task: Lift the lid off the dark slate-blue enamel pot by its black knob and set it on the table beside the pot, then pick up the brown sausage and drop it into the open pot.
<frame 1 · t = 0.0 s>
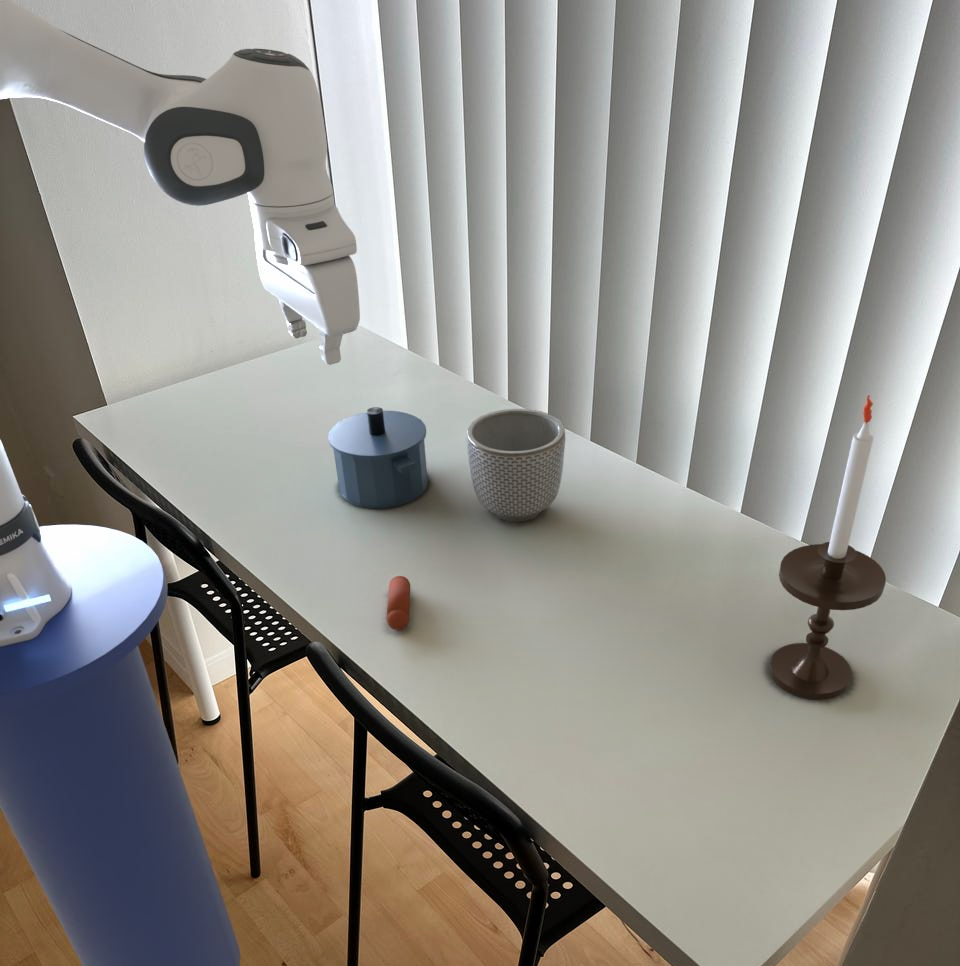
hand: (314, 348, 114), 32 cm above the table, tool pointing down, fingers open, 8 cm apart
pot: (383, 485, 152), on the table
candlestick: (809, 674, 114), on the table
sausage: (399, 610, 127), on the table
planter: (517, 510, 145), on the table
lid: (377, 435, 147), point 8 cm above the table, touching pot
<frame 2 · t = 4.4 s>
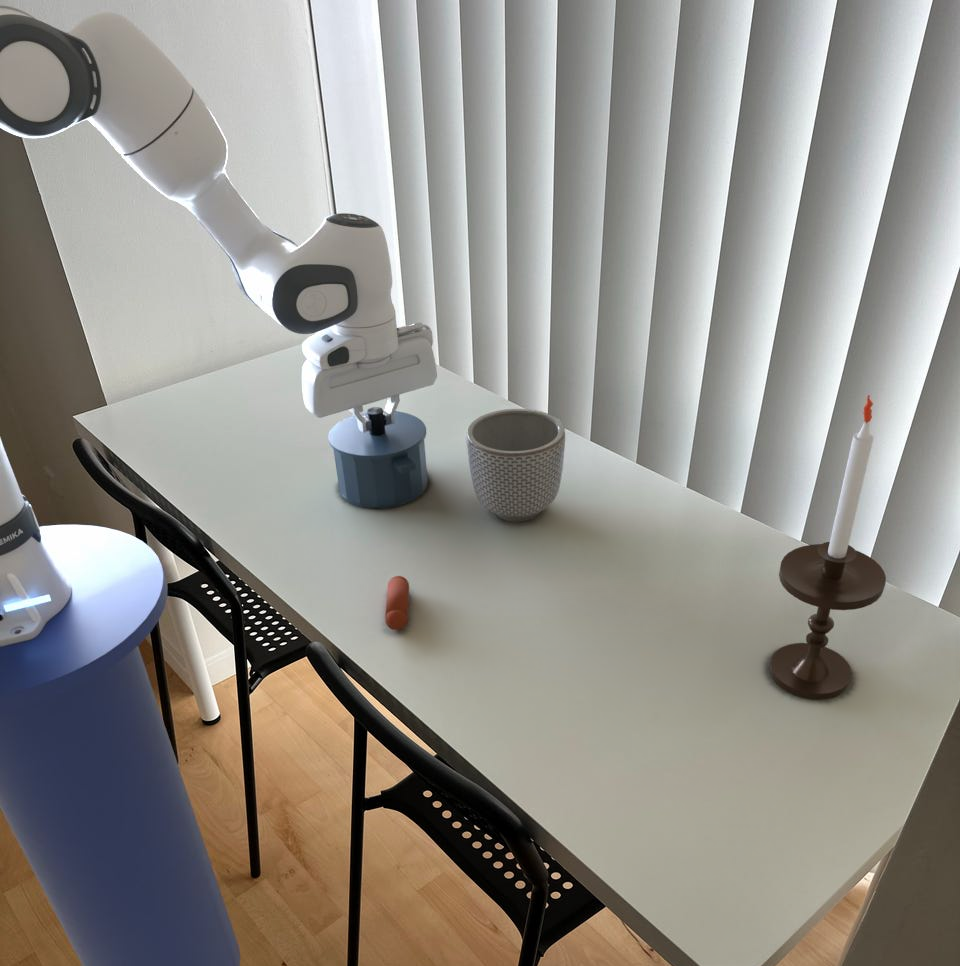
hand: (376, 426, 146), 10 cm above the table, tool pointing down, fingers closed on lid, 2 cm apart
sausage: (399, 610, 127), on the table, tilted 8°
lid: (377, 435, 147), point 9 cm above the table, touching gripper, pot
everything else where it was.
when the fingers open (2 cm above the table, at t = 12.2 s): lid stays where it is, point 1 cm above the table.
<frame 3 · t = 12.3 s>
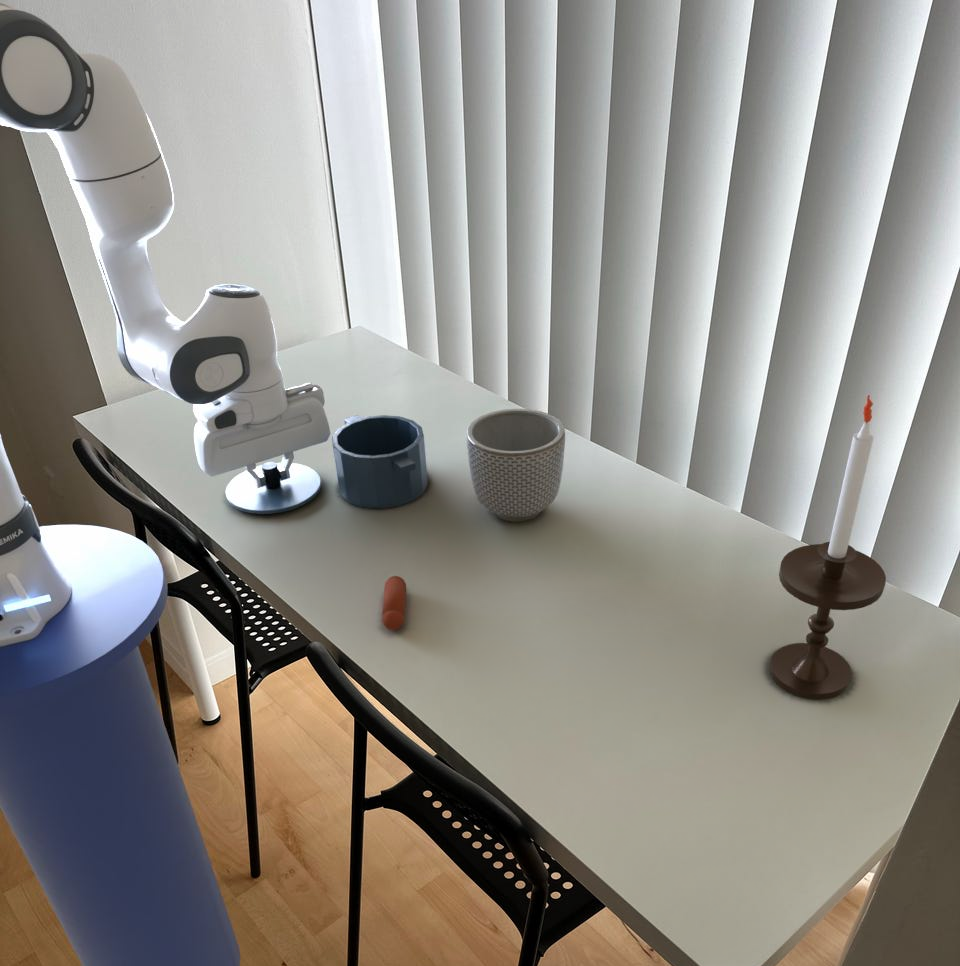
hand: (272, 481, 151), 2 cm above the table, tool pointing down
sausage: (399, 610, 127), on the table, tilted 24°
lid: (273, 489, 151), point 1 cm above the table
everything else where it was.
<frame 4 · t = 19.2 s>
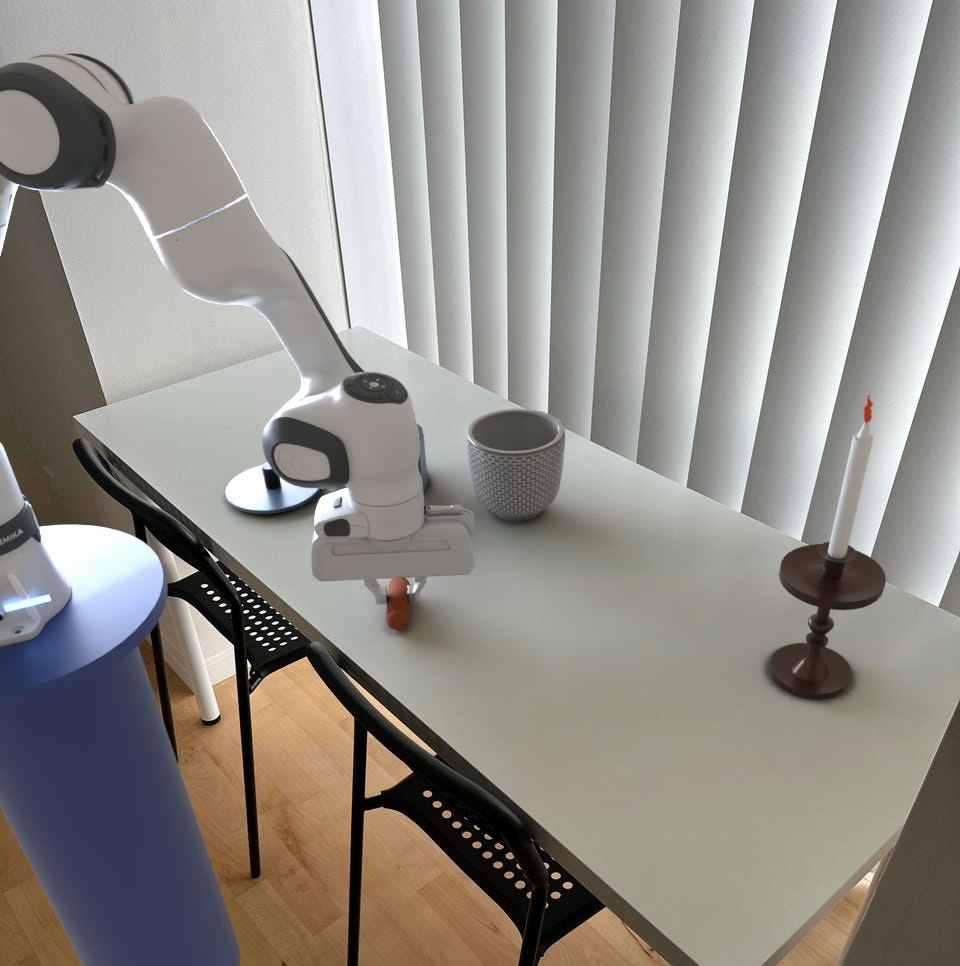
hand: (398, 601, 126), 2 cm above the table, tool pointing down, fingers closed on sausage, 3 cm apart
sausage: (406, 608, 127), on the table, tilted 46°, touching gripper
everything else where it was.
when the fingers open (8 cm above the table, at t = 26.4 s): sausage drops 6 cm, resting on pot.
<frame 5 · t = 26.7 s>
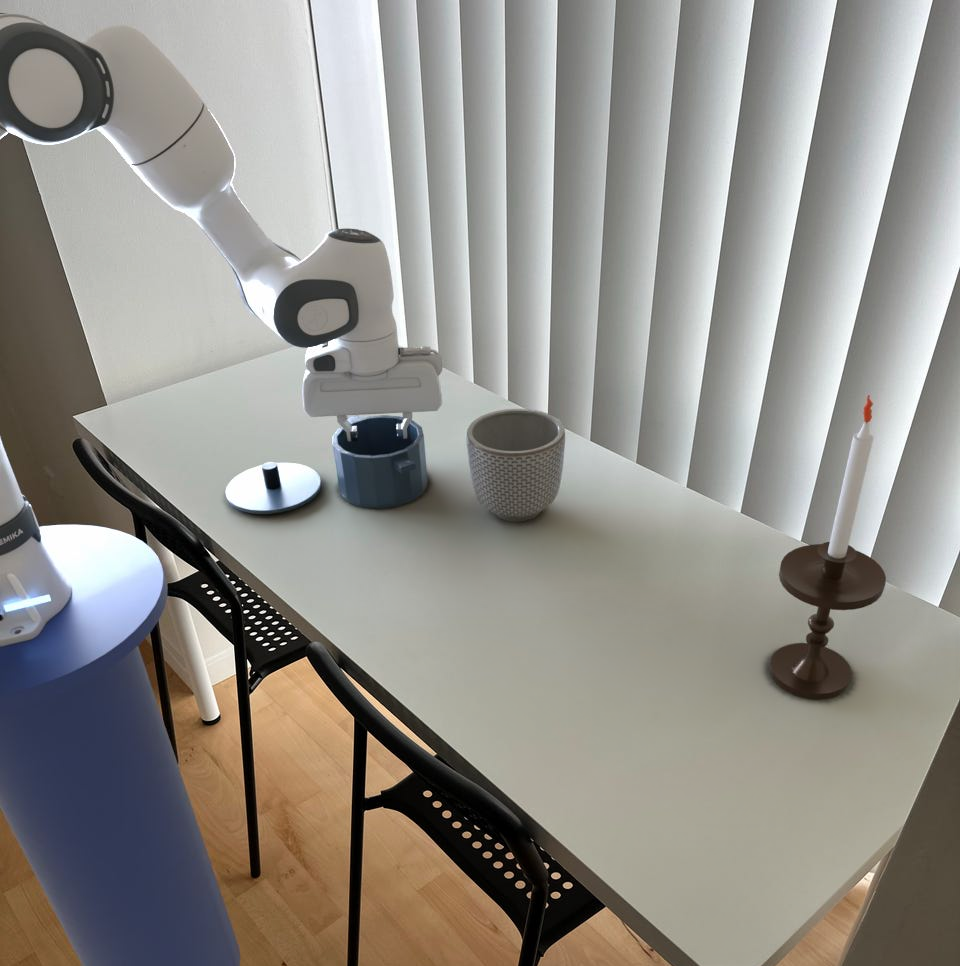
hand: (377, 438, 147), 8 cm above the table, tool pointing down, fingers open, 6 cm apart
sausage: (388, 480, 151), point 1 cm above the table, tilted 47°, touching pot
everything else where it was.
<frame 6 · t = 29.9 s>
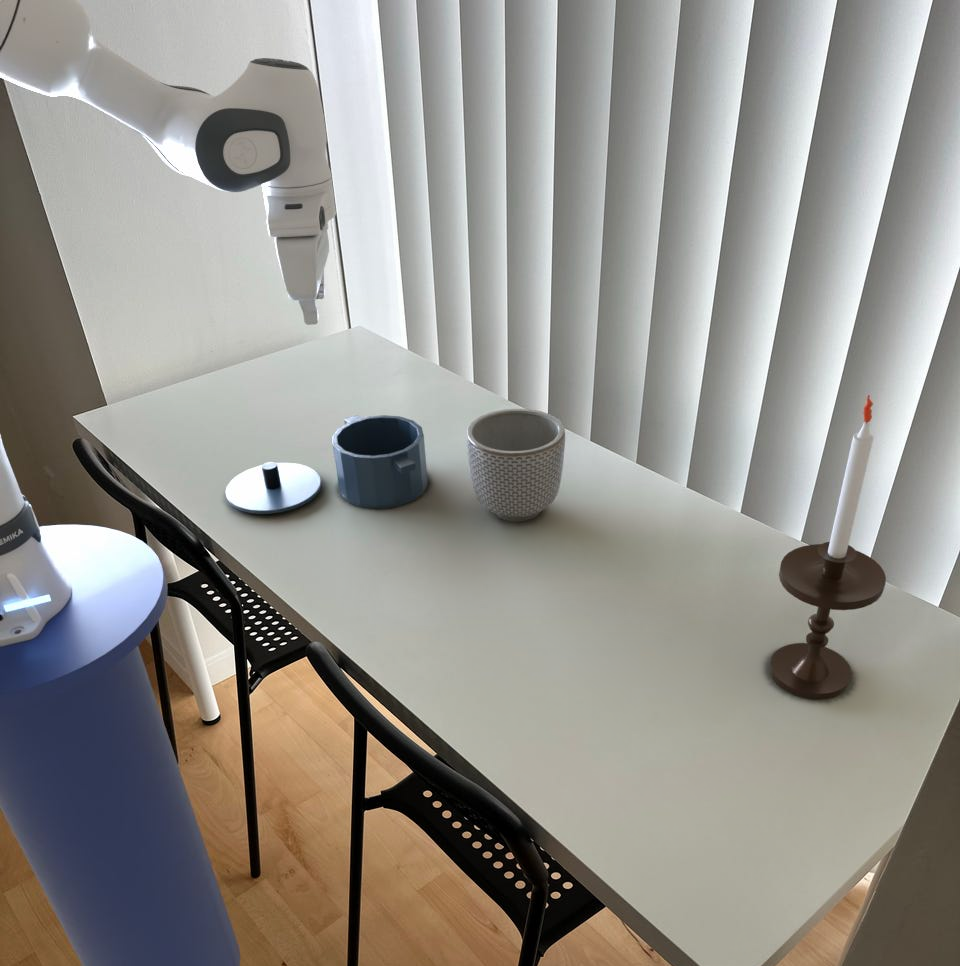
hand: (315, 309, 134), 28 cm above the table, tool pointing down, fingers open, 8 cm apart
sausage: (374, 470, 150), point 3 cm above the table, tilted 131°, touching pot
everything else where it was.
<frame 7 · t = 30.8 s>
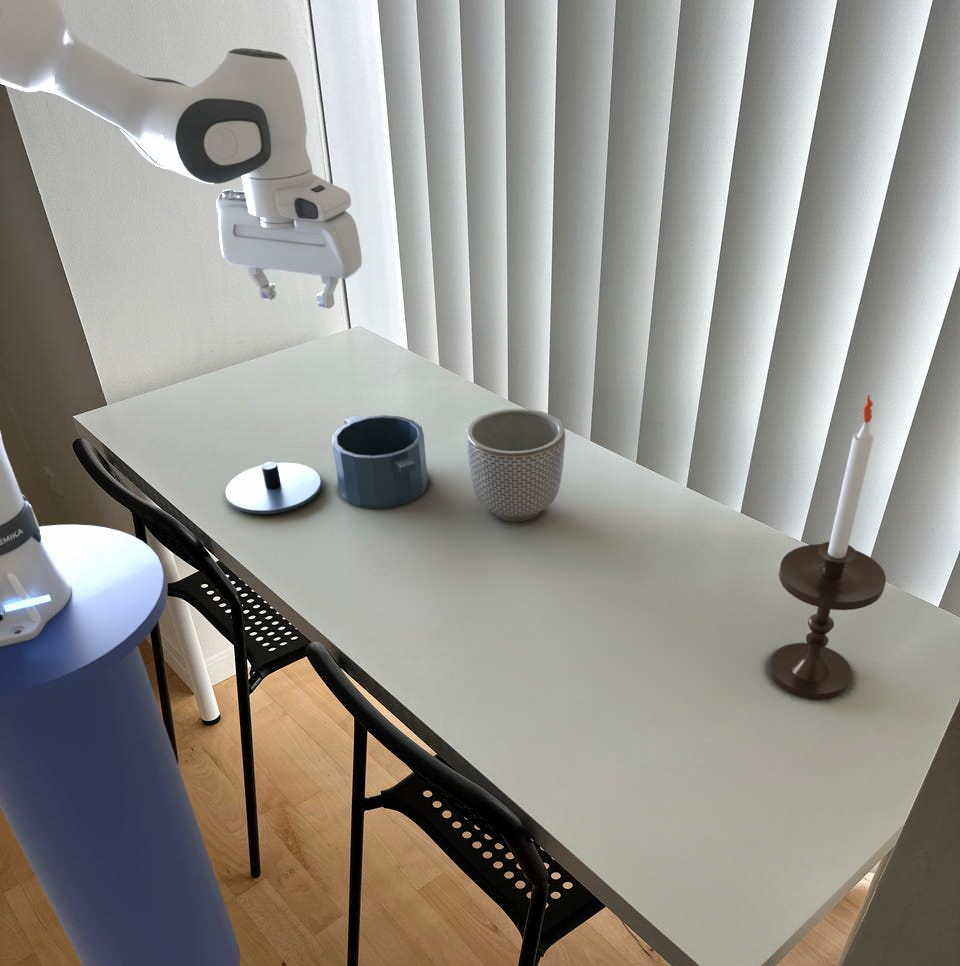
hand: (297, 302, 134), 29 cm above the table, tool pointing down, fingers open, 8 cm apart
sausage: (365, 468, 150), point 3 cm above the table, tilted 162°, touching pot
everything else where it was.
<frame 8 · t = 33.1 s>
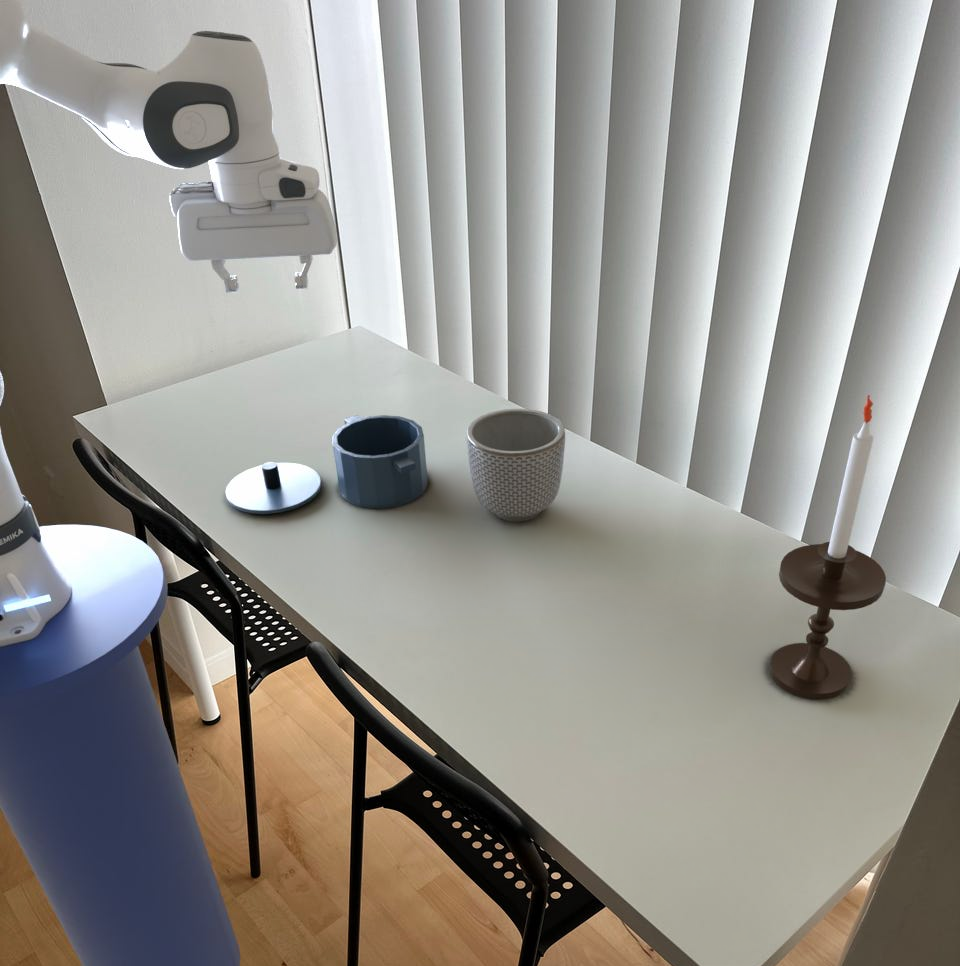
hand: (267, 289, 132), 31 cm above the table, tool pointing down, fingers open, 8 cm apart
nothing on the table moved.
at the end: sausage inside the target area in the pot (2.5 cm from its centre), point 3.2 cm above the pot's base; lid inside the target area (0.1 cm from its centre), point 0.6 cm above the table; lid point 0.6 cm above the table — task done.
